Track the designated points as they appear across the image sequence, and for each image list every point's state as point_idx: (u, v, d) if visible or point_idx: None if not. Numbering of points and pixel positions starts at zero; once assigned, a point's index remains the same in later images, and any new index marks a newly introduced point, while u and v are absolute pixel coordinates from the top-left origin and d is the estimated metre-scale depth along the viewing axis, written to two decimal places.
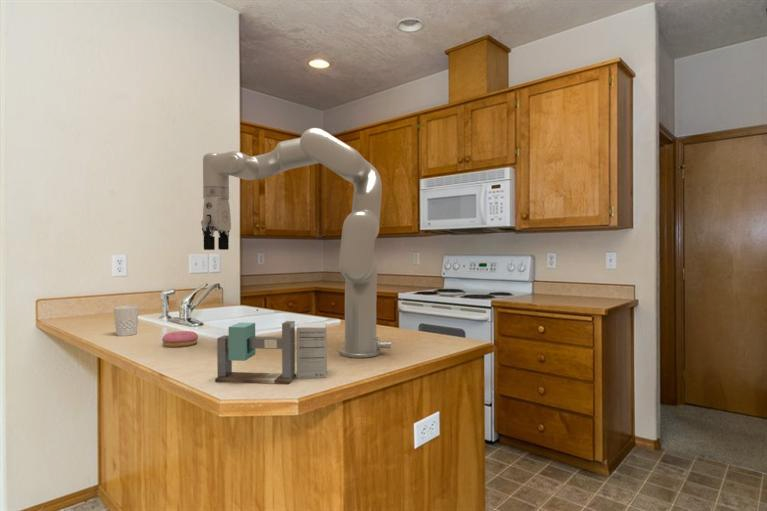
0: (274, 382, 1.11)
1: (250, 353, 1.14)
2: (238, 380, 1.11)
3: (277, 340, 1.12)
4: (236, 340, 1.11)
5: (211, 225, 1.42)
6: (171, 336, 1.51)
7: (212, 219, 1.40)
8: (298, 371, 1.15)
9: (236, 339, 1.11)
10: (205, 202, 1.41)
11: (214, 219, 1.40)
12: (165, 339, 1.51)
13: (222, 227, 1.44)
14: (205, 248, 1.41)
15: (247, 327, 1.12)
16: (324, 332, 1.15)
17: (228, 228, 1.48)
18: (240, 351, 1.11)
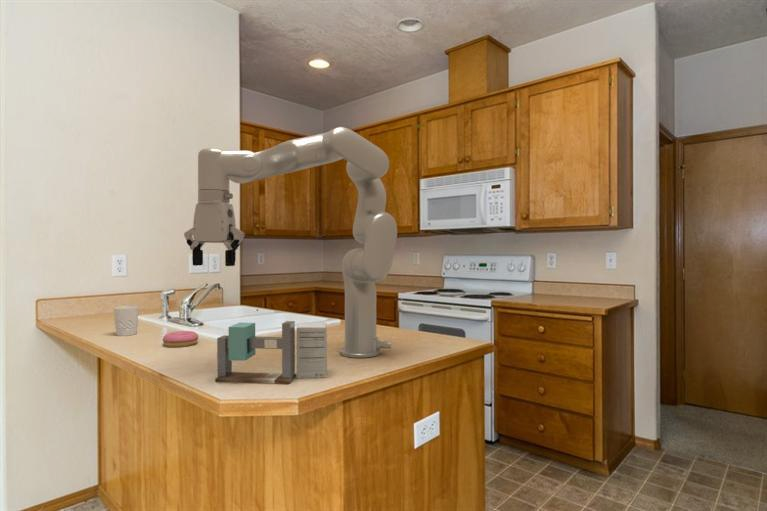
0: (274, 382, 1.11)
1: (250, 353, 1.14)
2: (238, 380, 1.11)
3: (277, 340, 1.12)
4: (236, 340, 1.11)
5: None
6: (171, 336, 1.51)
7: None
8: (298, 371, 1.15)
9: (236, 339, 1.11)
10: (225, 209, 1.18)
11: None
12: (166, 339, 1.51)
13: None
14: (228, 264, 1.18)
15: (247, 327, 1.12)
16: (324, 332, 1.15)
17: None
18: (240, 351, 1.11)
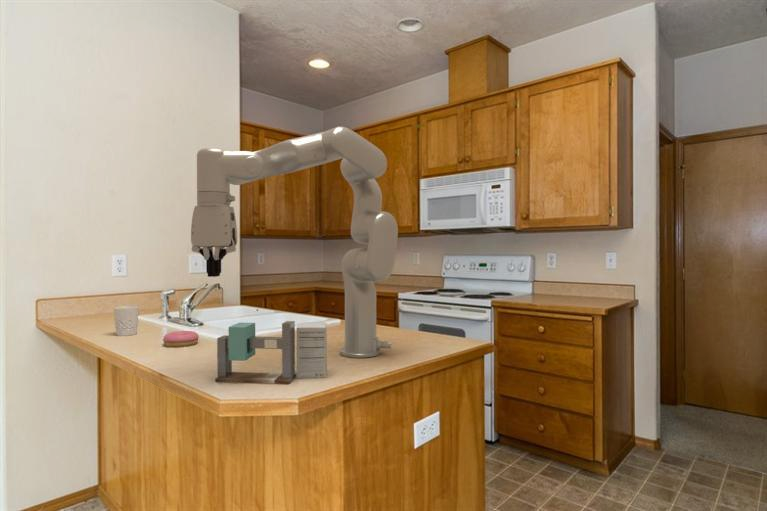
0: (274, 382, 1.11)
1: (250, 353, 1.14)
2: (238, 380, 1.11)
3: (277, 340, 1.12)
4: (236, 340, 1.11)
5: None
6: (172, 336, 1.51)
7: (236, 234, 1.15)
8: (298, 371, 1.15)
9: (236, 339, 1.11)
10: (229, 212, 1.13)
11: (236, 234, 1.16)
12: (166, 339, 1.51)
13: None
14: (215, 274, 1.14)
15: (247, 327, 1.12)
16: (324, 332, 1.15)
17: None
18: (240, 351, 1.11)
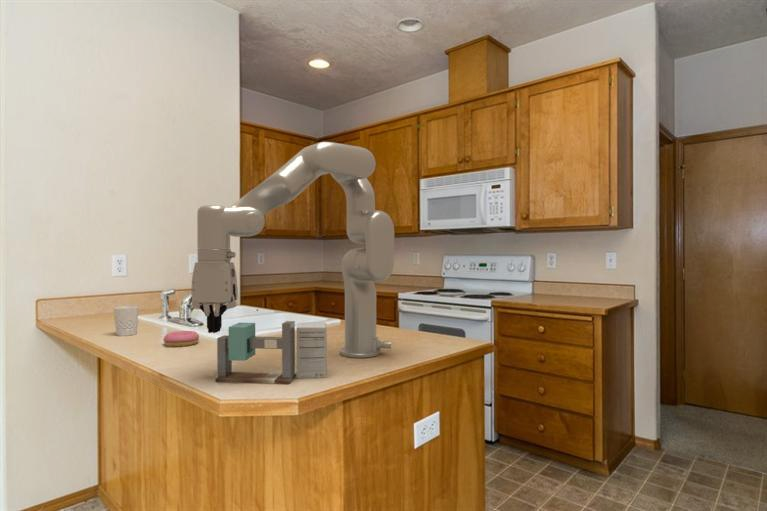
0: (274, 382, 1.11)
1: (250, 353, 1.14)
2: (238, 380, 1.11)
3: (277, 340, 1.12)
4: (236, 340, 1.11)
5: None
6: (172, 336, 1.51)
7: (236, 290, 1.16)
8: (298, 371, 1.15)
9: (236, 339, 1.11)
10: (229, 269, 1.13)
11: (237, 289, 1.16)
12: (167, 339, 1.51)
13: None
14: (215, 331, 1.14)
15: (247, 327, 1.12)
16: (324, 332, 1.15)
17: None
18: (240, 351, 1.11)
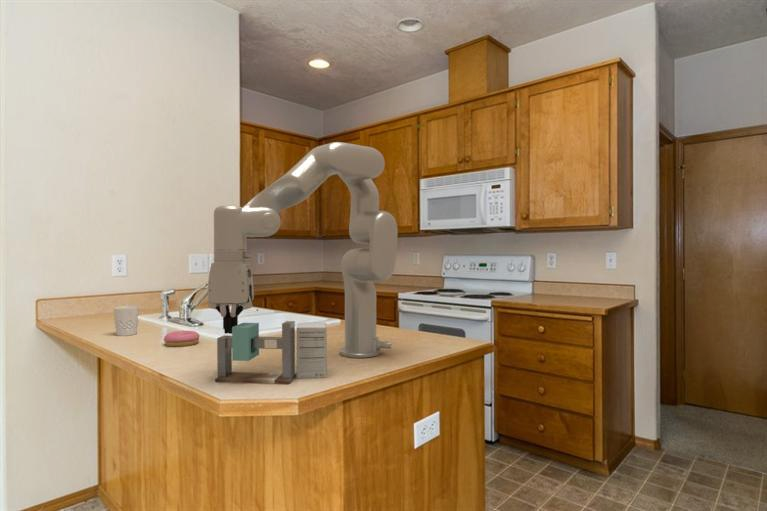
0: (274, 382, 1.11)
1: (254, 353, 1.14)
2: (238, 380, 1.11)
3: (277, 340, 1.12)
4: (239, 340, 1.11)
5: None
6: (173, 335, 1.52)
7: (252, 290, 1.15)
8: (298, 371, 1.15)
9: (240, 339, 1.11)
10: (245, 269, 1.13)
11: (253, 290, 1.16)
12: (167, 339, 1.51)
13: None
14: (231, 331, 1.13)
15: (251, 327, 1.12)
16: (324, 332, 1.15)
17: None
18: (244, 351, 1.11)
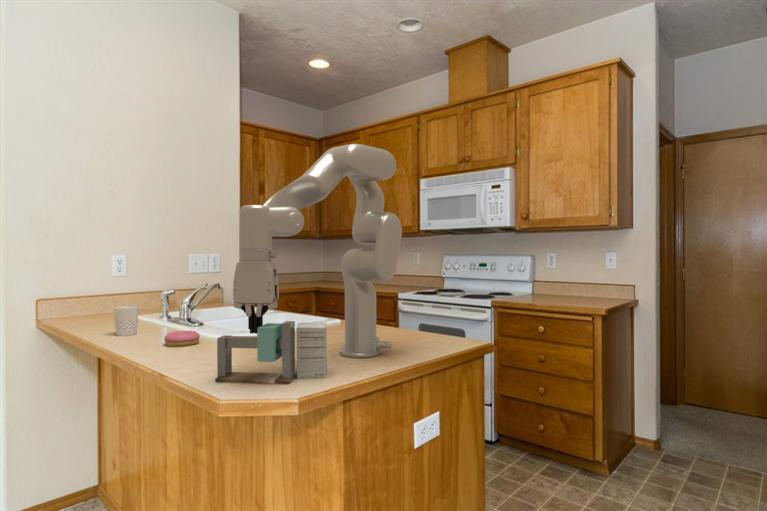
0: (274, 382, 1.11)
1: (278, 354, 1.13)
2: (238, 380, 1.11)
3: (277, 340, 1.12)
4: (265, 341, 1.10)
5: None
6: (173, 335, 1.52)
7: (277, 290, 1.14)
8: (298, 371, 1.15)
9: (265, 340, 1.10)
10: (271, 269, 1.12)
11: (278, 289, 1.15)
12: (167, 339, 1.52)
13: None
14: None
15: (276, 328, 1.11)
16: (324, 332, 1.15)
17: None
18: (269, 352, 1.10)
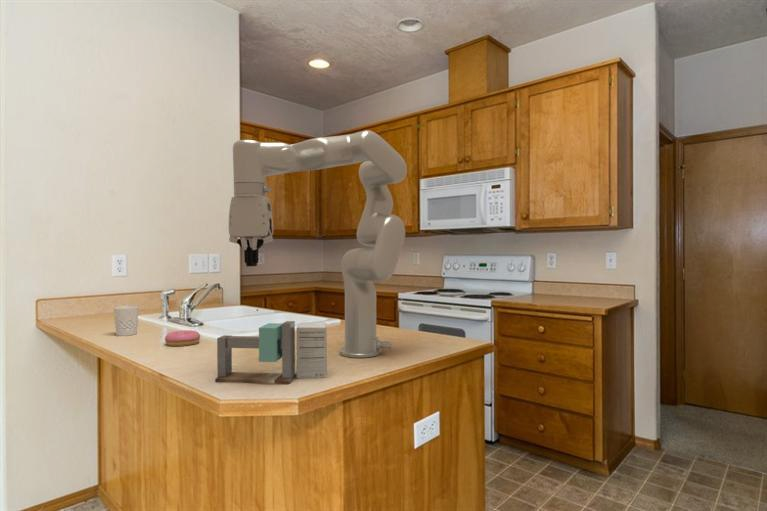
0: (274, 382, 1.11)
1: (280, 354, 1.13)
2: (238, 380, 1.11)
3: (277, 340, 1.12)
4: (266, 341, 1.10)
5: None
6: (174, 335, 1.52)
7: (272, 224, 1.17)
8: (298, 371, 1.15)
9: (266, 340, 1.10)
10: (266, 202, 1.15)
11: (272, 224, 1.18)
12: (168, 338, 1.52)
13: None
14: (253, 264, 1.16)
15: (277, 328, 1.11)
16: (324, 332, 1.15)
17: None
18: (271, 352, 1.10)
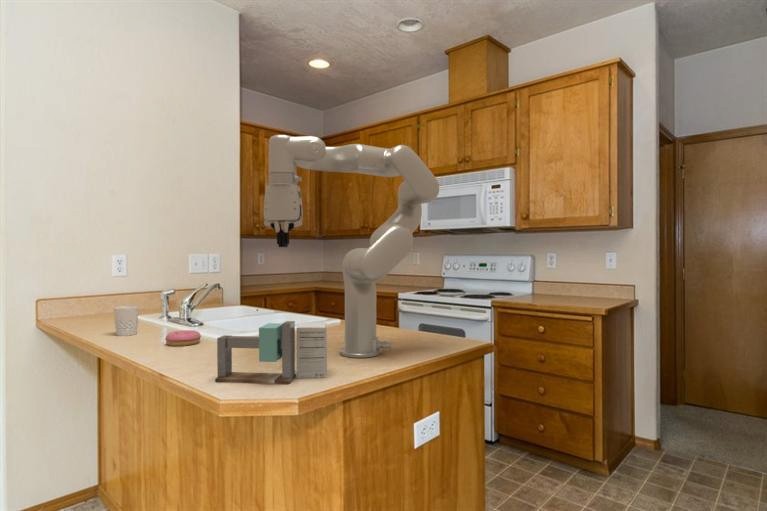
0: (274, 382, 1.11)
1: (280, 354, 1.13)
2: (238, 380, 1.11)
3: (277, 340, 1.12)
4: (266, 341, 1.10)
5: None
6: (174, 335, 1.52)
7: (302, 210, 1.32)
8: (298, 371, 1.15)
9: (266, 340, 1.10)
10: (297, 190, 1.29)
11: (302, 210, 1.32)
12: (169, 338, 1.52)
13: None
14: (284, 245, 1.30)
15: (277, 328, 1.11)
16: (324, 332, 1.15)
17: None
18: (271, 352, 1.10)
